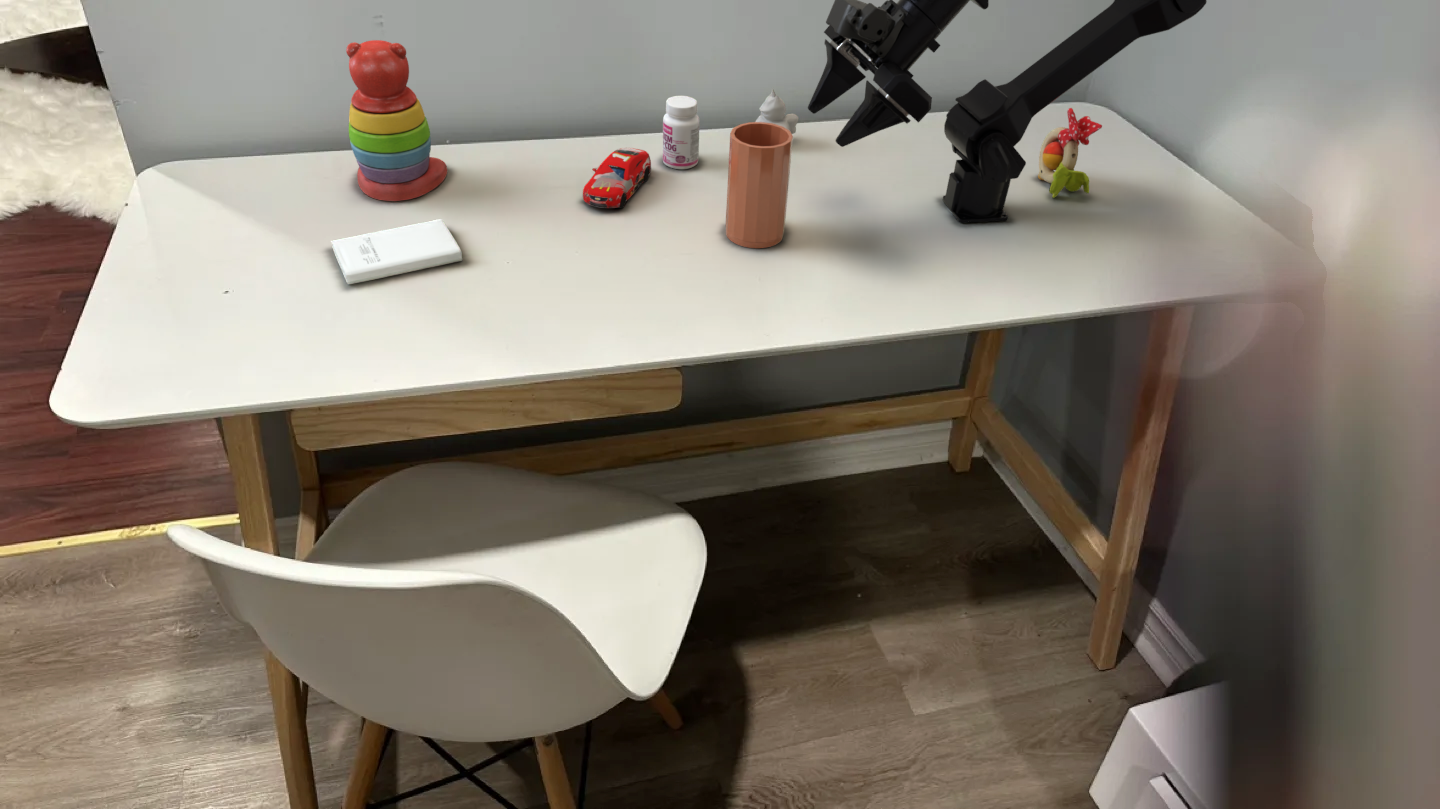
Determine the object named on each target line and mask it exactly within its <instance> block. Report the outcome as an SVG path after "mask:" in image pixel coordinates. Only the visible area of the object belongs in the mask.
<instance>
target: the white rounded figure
mask: <svg viewBox="0 0 1440 809" xmlns="http://www.w3.org/2000/svg"><path fill="white" fill-rule="evenodd" d="M771 88H772V89H771V93H770V94H769V95H768V96H766V97H765V100H764V101H763V103H762V104H761V105H760V107H759V111H760V115H759V116H758V117H757V118H756V120H755V122H765V123H773V124H776V125H779V126H782V127H784V128H786V129H788V130H789V131H790V132H791V134H792V135H793V134H795V133H796V132H797V124H798V122H799V115H797V114H795V113H788V114H786V112H787V107H786V103H785V102H784V100H783V99H782V98H781V97H779V95H777V94H776V91H775V89H774V87H771ZM785 114H786V115H785Z"/></svg>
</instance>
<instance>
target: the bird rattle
mask: <svg viewBox="0 0 1440 809" xmlns="http://www.w3.org/2000/svg"><path fill="white" fill-rule="evenodd" d="M1066 112H1067V113H1066V114H1067V119H1068V127H1065V126H1058V127H1056V128H1053V129H1052V130H1050V131H1049V132H1048V133H1047V134H1046V136H1045V138H1044V140H1043V141H1042V144H1041V146H1040V149H1039V156H1038V175H1037V179H1038V180H1040V181H1045V182H1046V183H1048V184H1050V187H1049V190H1048V191H1049V192H1048V193H1049V194H1052V198H1053V199H1054V198H1056V197H1057V196H1059V194H1060V192H1062V190H1063V189H1064V188H1065V189H1066V190H1067V191H1068V192H1071V193H1072V192H1077V191H1079V190H1080V189H1081V188H1082V190H1083V192H1084V193H1086V194H1090V177H1089V176H1088V175H1087V173H1086V172H1084V171H1081V170H1075V167H1076V165H1077V163H1078V162H1077V161H1078V155H1079V145H1080V143H1081V144H1082V145H1083V146H1088V145H1089V144H1090V140H1089V137H1090V136H1092V135H1093V134H1095V133H1096V132H1098V131H1099V130H1101V129H1102V128H1103V125H1102V124H1101V123H1098V122H1096V121H1093V120H1092V119H1091V117H1090V116H1088V115H1084V116H1083V117H1081V118H1080V119H1077V117H1076V113H1075V112H1074V109H1073V107H1069V108H1068V109H1067V111H1066Z"/></svg>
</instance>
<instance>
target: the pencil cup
mask: <svg viewBox="0 0 1440 809" xmlns="http://www.w3.org/2000/svg"><path fill="white" fill-rule="evenodd" d="M793 140H794V136H793V134H791V132H790V131H789V130H788V129H786V128H784V127H782V126H779V125H776V124H773V123H765V122H756V121H752V122H751V121H750V122H744V123H741V124H737V125H736V126H735V127H733V128H732V129H731V131H730V133H729V149H728V168H727V189H726V190H727V191H726V210H725V236H726V237H727V239H728V240H729V241H730V242H732V243H733V244H735V245H737V246H740V247H744V248H747V249H765V248H771V247H774V246H776V245H778V244H779V243H781V241H782V240H783V238H784V236H785V235H784V233H785V228H786V217H787V206H788V195H789V185H790V176H791V175H790V174H791V163H792V151H793Z"/></svg>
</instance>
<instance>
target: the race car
mask: <svg viewBox="0 0 1440 809" xmlns="http://www.w3.org/2000/svg"><path fill="white" fill-rule="evenodd" d="M592 172H594V173H593V175H592V176H591V177H590V179H589V180H588V181H587V183H586V184H585V185H584V187H583V189H582V199H583V201H584V202H585V203H586V204H587V205H589V206H592V207H595V208H601V209H602V208H603V209H615V208H620V209H623V208H624V207H625V206H626V203H627V201H628V200H630V198H631V197H632V196H633V195H634V194H635V193H636V191H638V189H639V188H640V187H641V185H642V184H643V183H644V182H648V179H649V177H650V174H651V172H652V161H651V156H650V153H648V152H647V151H646V150H644V149H640V148H634V147H621V148H617V149H615V150H614V151H612V152H611V153H610V154H609V155H608V156H607V157H606V158H604V160H603V161H602V162H601V163H600V164H599V166H598V167H597V168H596V167H594V168H593V167H592Z"/></svg>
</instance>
